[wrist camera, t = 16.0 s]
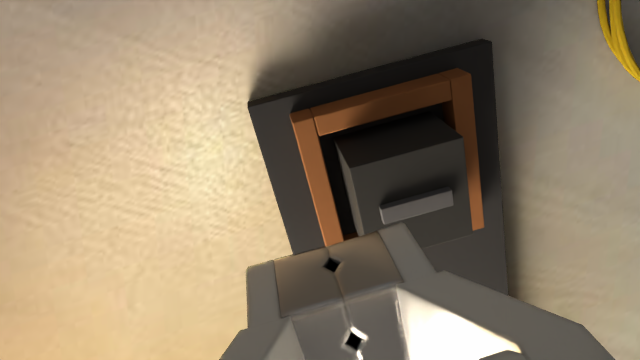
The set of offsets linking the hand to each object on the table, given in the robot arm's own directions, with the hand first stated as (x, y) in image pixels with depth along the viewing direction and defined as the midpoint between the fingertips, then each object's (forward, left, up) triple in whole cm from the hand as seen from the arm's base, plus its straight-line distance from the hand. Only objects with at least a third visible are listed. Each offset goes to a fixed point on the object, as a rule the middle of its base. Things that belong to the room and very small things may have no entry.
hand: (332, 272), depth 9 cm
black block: (+7, 0, -14) cm, 16 cm away
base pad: (+15, -7, -15) cm, 23 cm away
